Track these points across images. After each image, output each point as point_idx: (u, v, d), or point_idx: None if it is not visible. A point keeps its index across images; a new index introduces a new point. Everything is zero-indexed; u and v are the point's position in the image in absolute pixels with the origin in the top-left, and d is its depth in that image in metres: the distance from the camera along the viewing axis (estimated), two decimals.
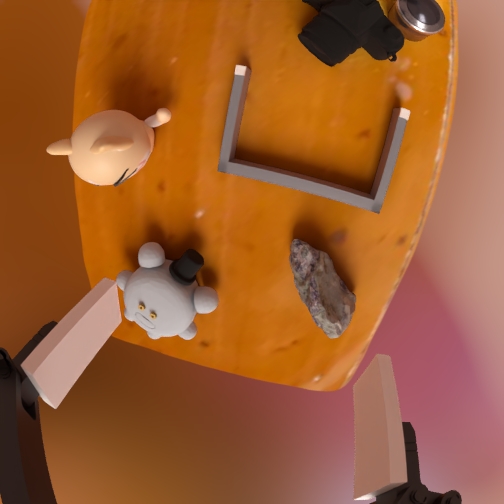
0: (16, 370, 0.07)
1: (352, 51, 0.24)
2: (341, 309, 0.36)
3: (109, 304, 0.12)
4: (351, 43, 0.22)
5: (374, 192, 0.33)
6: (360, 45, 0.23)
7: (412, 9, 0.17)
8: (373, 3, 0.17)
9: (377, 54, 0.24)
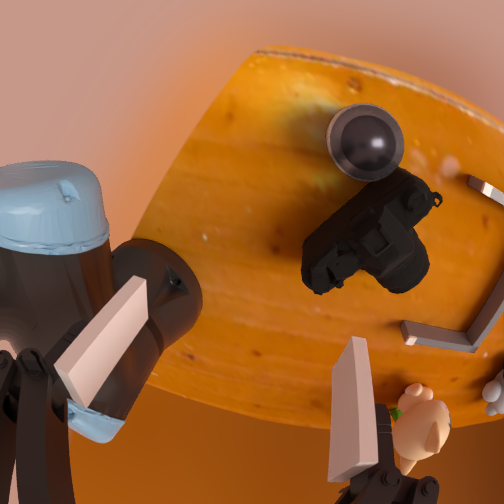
0: (48, 372, 0.07)
1: None
2: None
3: (139, 302, 0.13)
4: (416, 244, 0.22)
5: None
6: None
7: (375, 164, 0.19)
8: (385, 234, 0.19)
9: None
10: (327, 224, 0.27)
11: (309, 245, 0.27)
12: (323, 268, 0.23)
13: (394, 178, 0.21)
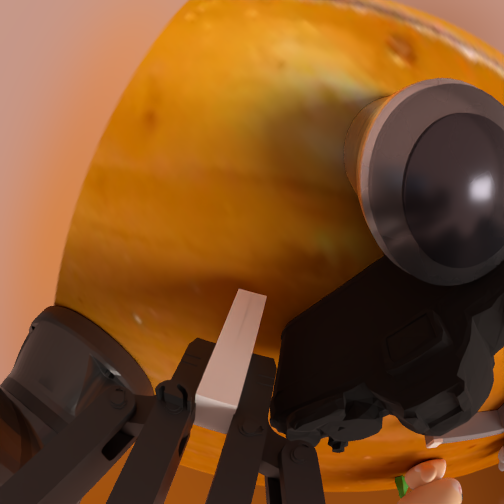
0: (190, 410, 0.08)
1: None
2: None
3: None
4: None
5: None
6: None
7: (475, 250, 0.06)
8: (463, 400, 0.06)
9: None
10: (331, 310, 0.13)
11: (292, 349, 0.14)
12: (312, 429, 0.09)
13: None
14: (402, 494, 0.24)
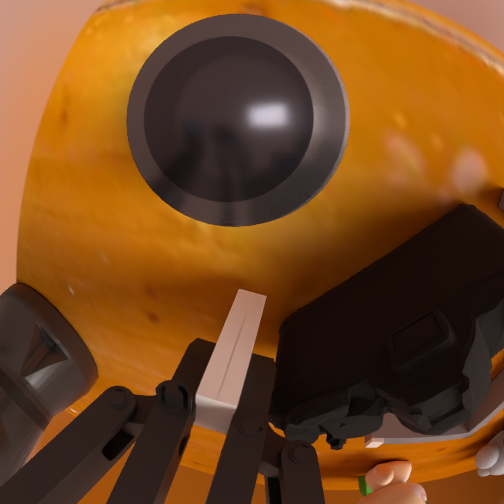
0: (190, 410, 0.08)
1: None
2: None
3: None
4: None
5: None
6: None
7: (247, 179, 0.07)
8: (466, 398, 0.06)
9: None
10: (332, 306, 0.13)
11: (291, 344, 0.14)
12: (312, 425, 0.09)
13: (485, 241, 0.08)
14: (364, 496, 0.25)
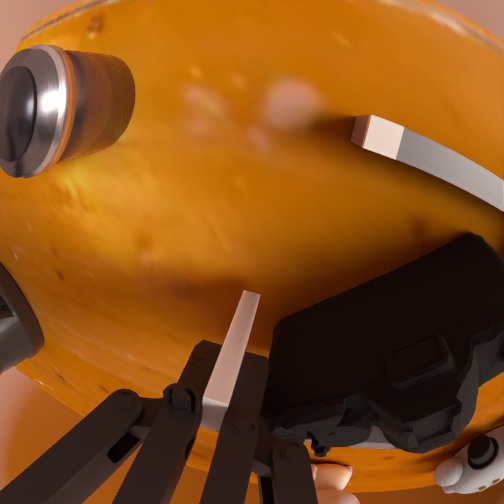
0: (197, 413, 0.08)
1: None
2: None
3: None
4: None
5: None
6: None
7: (17, 146, 0.08)
8: (456, 421, 0.06)
9: None
10: (332, 314, 0.13)
11: (286, 346, 0.14)
12: (302, 431, 0.09)
13: (491, 274, 0.08)
14: None
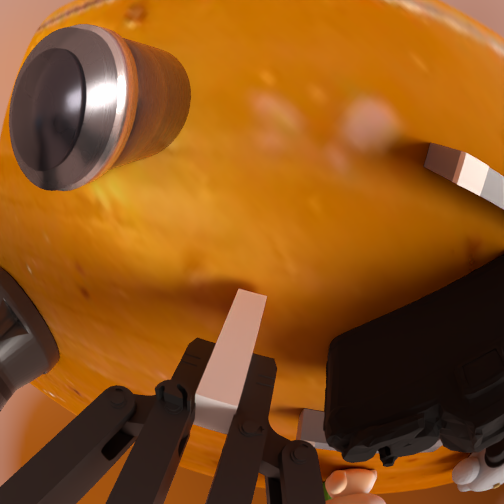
0: (189, 410, 0.08)
1: None
2: None
3: None
4: None
5: None
6: None
7: (53, 151, 0.07)
8: None
9: None
10: (393, 331, 0.13)
11: (350, 364, 0.13)
12: (379, 446, 0.08)
13: None
14: None
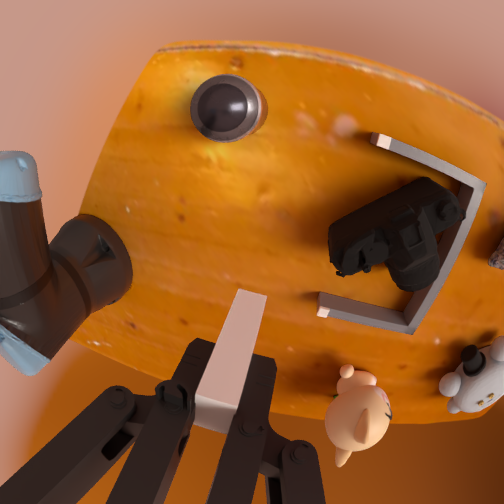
0: (189, 410, 0.08)
1: None
2: None
3: None
4: None
5: None
6: None
7: (229, 125, 0.22)
8: (421, 231, 0.20)
9: None
10: (359, 213, 0.27)
11: (339, 228, 0.28)
12: (358, 250, 0.23)
13: (430, 187, 0.22)
14: None
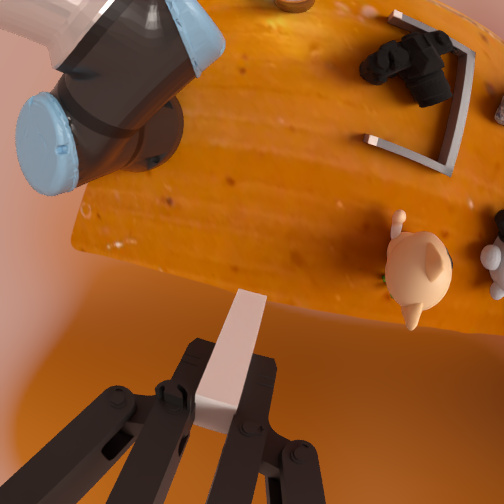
0: (189, 410, 0.08)
1: None
2: None
3: None
4: (443, 73, 0.23)
5: (460, 52, 0.23)
6: None
7: None
8: (427, 39, 0.19)
9: None
10: None
11: None
12: (387, 52, 0.23)
13: None
14: None
